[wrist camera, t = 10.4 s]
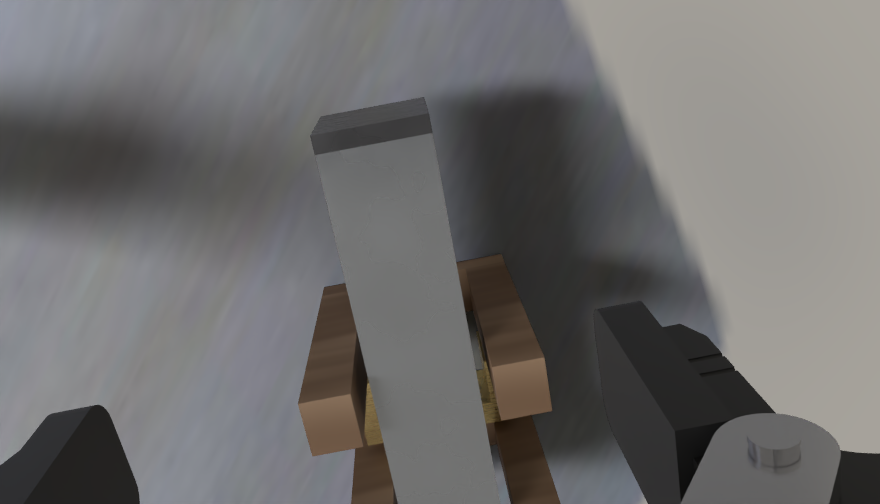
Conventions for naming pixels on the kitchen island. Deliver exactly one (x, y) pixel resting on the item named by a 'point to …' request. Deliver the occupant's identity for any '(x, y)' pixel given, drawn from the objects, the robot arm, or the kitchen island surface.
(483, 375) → the spacer
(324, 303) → the brown wooden frame
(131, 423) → the kitchen island surface
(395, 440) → the shaft
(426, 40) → the kitchen island surface
